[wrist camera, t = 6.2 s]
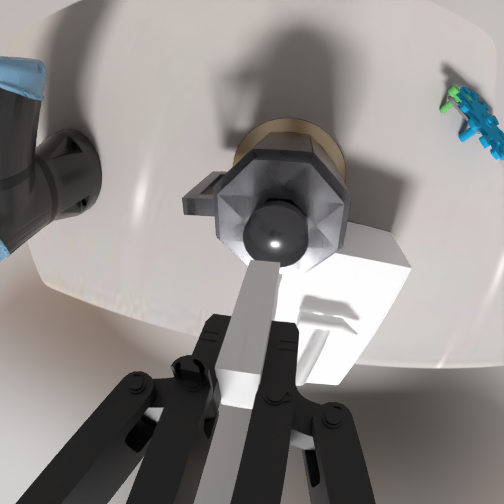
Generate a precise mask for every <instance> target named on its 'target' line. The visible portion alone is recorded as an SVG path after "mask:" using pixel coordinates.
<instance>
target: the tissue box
mask: <svg viewBox="0 0 504 504" xmlns="http://www.w3.org/2000/svg"><path fill="white" fill-rule="evenodd" d="M411 269H412V268H411V266H410V264H409V262H408V261H407V259H406V257H405V255H404V254H403V252H402V250H401V249H400V247H399V245H398V244H397V242H396V240H395V239H394V237H393V235H392V234H391V232H387V231H384V230H380V229H376V228H373V227H369V226H365V225H360V224H356V223H351V222H347V228H346V234H345V240H344V245H343V247H342V249H340V250H339V251H337V252H336V253H334V254H333V255H331V256H330V257H329V258H327V259H326V260H324V261H323V262H321V263H320V264H318V265H317V266H315V267H314V268H312V269H311V270H309V271H308V272H306V273H305V274H302V275H300V276H299V275H288V274H279V288H278V302H277V309H276V316H275V321H282V322H292V323H295V324H296V326H297V328H298V330H299V345H298V358H297V370H296V385H297V386H302V385H304V384H305V383H306V382H308V383H318V384H331V385H338V384H339V383H340V382H341V380H342V379H343V378H344V376H345V375H346V374H347V372H348V371H349V370H350V368H351V367H352V365H353V364H354V363H355V361H356V360H357V359H358V357H359V356H360V354H361V353H362V351H363V350H364V348H365V347H366V345H367V344H368V342H369V341H370V339H371V338H372V336H373V335H374V333H375V332H376V330H377V329H378V327H379V325H380V324H381V322H382V321H383V319H384V317H385V316H386V314H387V312H388V311H389V309H390V307H391V305H392V304H393V302H394V300H395V298H396V297H397V295H398V293H399V291H400V289H401V288H402V286H403V284H404V282H405V280H406V278H407V276H408V274H409V273H410V271H411Z"/></svg>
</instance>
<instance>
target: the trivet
mask: <svg viewBox="0 0 504 504" xmlns="http://www.w3.org/2000/svg"><path fill="white" fill-rule="evenodd" d="M285 131H291V132H298V133H302V134H309V135H311V136H312V137H313V138H314V139H315V141H316V142H318V143H319V144H320V145H321V146H322V147H323V148H324V150H325V151H326V153H327V154H328V155H329V157H330V158H331V159H332V160H333V161H334V162H335V164H336V166H337V168H338V170H339V172H340V174H341V176H342V179H343V181H344V183H345V180H346V169H345V163H344V159H343V156H342V154H341V151H340V149H339V148H338V146H337V144H336V143H335V142H334V140H333V139H332V138H331V137H330V136H329V135H328V134H327V133H326V132H325V131H324V130H322V129H321V128H320V127H318V126H316V125H314V124H312V123H310V122H307V121H304V120H300V119H294V118H281V119H275V120H272V121H268V122H266V123H264V124H261V125H260V126H258V127H256V128H255V129H253V130H252V131H251V132H250V133H249V134H248V135H247V136H246V137H245V138H244V139H243V141H242V142H241V144H240V145H239V147H238V149H237V151H236V154H235V157H234V162H233V167H234V166H235V165H236V164H237V163H238V162H239V161H240V160H241V159H242V158H243V157H244V156H245V155H246V154H247V153H248V152H249V151H250V150H251V149H252V148H253V147H254V146H255V145H256V144H257V143H258V142H260V141H261V140H262V139H263V138H264V137H265V136H266V135H268V134H269V133H270V132H285Z"/></svg>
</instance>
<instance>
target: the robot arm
mask: <svg viewBox="0 0 504 504" xmlns="http://www.w3.org/2000/svg"><path fill="white" fill-rule="evenodd" d="M46 72H47V71H46V66H45V64H44V63H43V62H41V61H39V60H35V59H29V58H20V57H3V56H0V261H1V260H3V259H4V258H5V257H8V256H10V254H11V253H13V252H14V251H15V250H16V249H17V248H19V247H20V246H21V245H22V244H23V243H25V242H26V241H27V240H28V239H30V238H31V237H32V236H33V235H35V234H36V233H37V232H39V231H40V230H41V229H42V228H44V227H45V226H46V225H48V224H49V223H51V222H52V221H55V220H59V219H64V218H69V217H74V216H78V215H80V214H82V213H83V212H85V211H86V210H88V209H89V208H91V207H92V206H93V205H94V203H95V202H96V200H97V198H98V196H99V193H100V188H101V168H100V163H99V159H98V156H97V154H96V151H95V149H94V147H93V146H92V144H91V143H90V141H89V140H88V139H87V138H86V137H85V136H84V135H83V134H82V133H80V132H78V131H76V130H71V129H67V130H63V131H59V132H56V133H54V134H52V135H50V136H49V137H48V138H47V139H45V140H44V141H43V142H42V143H41V144H40V145H38V146H37V147H36V138H37V129H38V121H39V114H40V108H41V102H42V101H43V99H44V96H43V91H44V84H45V79H46ZM279 274H280V262H269V261H258V260H250V262H249V265H248V268H247V271H246V274H245V277H244V280H243V283H242V286H241V290H240V293H239V296H238V299H237V302H236V305H235V308H234V311H233V314H232V316H226V315H219V314H213V315H212V316H211V317H210V318H209V319H208V320H207V321H206V322H205V325H204V327H203V329H202V332H201V334H200V337H199V340H198V342H197V344H196V347H195V349H194V351H193V354H192V355H186V356H183V357H180V358H178V359H177V360H175V361H174V362H173V364H172V365H171V369H172V371H173V374H174V376H175V377H173V378H165V379H164V378H163V379H152V378H151V377H150V376H149V375H148V374H147V373H144V372H141V371H139V372H132V373H129V374H128V375H127V376H125V377H124V378H123V379H122V380H121V381H120V383H119V384H118V385H117V386H116V387H115V388H114V389H113V391H112V392H111V393H110V394H109V395H108V396H107V397H106V398H105V400H104V401H103V402H102V403H101V404H100V405H99V406H98V408H97V409H96V410H95V411H94V412H93V413H92V414H91V416H90V417H89V418H88V419H87V420H86V421H85V422H84V424H83V425H82V426H81V427H80V428H79V429H78V431H77V432H76V433H75V434H74V435H73V436H72V437H71V439H70V440H69V441H68V442H67V443H66V444H65V446H64V447H63V448H62V449H61V450H60V452H59V453H58V454H57V455H56V456H55V457H54V459H53V460H52V461H51V462H50V463H49V464H48V466H47V467H46V468H45V469H44V470H43V471H42V473H41V474H40V475H39V476H38V477H37V479H36V480H35V481H34V482H33V483H32V484H31V486H30V487H29V488H28V489H27V490H26V492H25V493H24V494H23V495H22V496H21V498H20V499H19V500H18V501H17V503H16V504H107V503H108V502H109V501H110V500H111V498H112V497H113V496H114V494H115V493H116V492H117V491H118V489H119V488H120V487H121V485H122V484H123V483H124V482H125V480H126V479H127V478H128V476H129V475H130V474H131V472H132V471H133V470H134V469H135V467H136V466H137V464H138V463H139V462H140V461H141V459H142V458H143V457H144V458H143V461H142V463H141V466H140V468H139V471H138V473H137V476H136V479H135V481H134V484H133V486H132V489H131V492H130V494H129V497H128V500H127V502H126V504H193V503H194V500H195V497H196V493H197V490H198V486H199V483H200V479H201V476H202V473H203V469H204V466H205V462H206V459H207V455H208V452H209V449H210V445H211V442H212V438H213V435H214V431H215V427H216V424H217V421H218V417H219V411H218V408H219V404H220V401H221V403H222V404H223V405H229V406H235V407H241V408H247V409H252V414H251V419H250V423H249V427H248V432H247V437H246V441H245V446H244V450H243V454H242V458H241V462H240V467H239V471H238V475H237V480H236V483H235V488H234V492H233V496H232V500H231V503H230V504H280V502H281V495H282V490H283V484H284V478H285V472H286V464H287V458H288V451H289V444H291V445H294V446H297V447H299V448H302V453H303V459H304V465H305V470H306V476H307V482H308V488H309V495H310V501H311V504H376V503H375V499H374V495H373V491H372V487H371V483H370V479H369V475H368V471H367V467H366V463H365V460H364V456H363V453H362V449H361V445H360V442H359V438H358V435H357V431H356V427H355V424H354V421H353V417H352V414H351V412H350V411H349V409H348V408H347V407H346V406H344V405H343V404H340V403H337V402H328V403H325V404H323V405H320V404H317V403H315V402H312V401H309V400H307V399H305V398H304V397H303V396H302V395H300V393H299V392H298V390H297V388H296V370H297V358H298V345H299V330H298V328H297V326H296V324H295V323H292V322H282V321H275V316H276V309H277V302H278V288H279ZM144 455H145V456H144Z"/></svg>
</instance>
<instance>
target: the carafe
mask: <svg viewBox="0 0 504 504" xmlns="http://www.w3.org/2000/svg"><path fill="white" fill-rule="evenodd" d="M269 198H279V199H291V200H292V201H293V202H294V203H295V204H296V205H297V206H298V207H299V209H300V210H301V211H302V212H303V214H304V216H305V218H306V220H307V223H308V229H309V242H308V248H307V251H306V252H305V254H304V256H303V257H302V258H301V259H300V260H299V261H298V262H296V263H295V264H293V265H290V266H287V267H283V268H280V274H288V275H299V276H300V275H302V274H305V273H306V272H308V271H309V270H311V269H312V268H314V267H315V266H317V265H318V264H320V263H321V262H323V261H324V260H326V259H327V258H329V257H330V256H331V255H333V254H334V253H336V252H337V251H339V250H340V249H342V247H343V245H344V240H345V234H346V228H347V222H348V216H349V209H350V202H351V196H350V193H349V191H348V189H347V187H346V185H345V183H344V181H343V179H342V176H341V174H340V172H339V170H338V168H337V166H336V164H335V162H334V161H333V160H332V159H331V158H330V157H329V155H328V154H327V153H326V151H325V150H324V148H323V147H322V146H321V145H320V144H319V143H318V142H316V141H315V139H314V138H313V137H312V136H311V135H309V134H302V133H298V132H291V131H285V132H270V133H269V134H268V135H266V136H265V137H264V138H263V139H262V140H261V141H260V142H258V143H257V144H256V145H255V146H254V147H253V148H252V149H251V150H250V151H249V152H248V153H247V154H246V155H245V156H244V157H243V158H242V159H241V160H240V161H239V162H238V163H237V164H236V165H235V166H234V167H232V168H231V169H230V170H229V171H228V172H212V173H211V174H209V175H208V176H207V177H206V178H205V179H203V180H202V181H201V182H200V183H199V184H198V185H196V186H195V187H194V188H193V189H192V190H191V191H189V192H188V193H187V194H186V195H185V196H184V197H183V198H182V202H183V211H184V215H199V216H215V227H216V236H217V238H218V239H219V240H220V241H221V242H223V243H224V244H225V245H226V246H227V247H228V248H229V249H230V250H231V251H232V252H233V253H234V254H235V255H236V256H237V257H239V258H240V259H241V260H242V261H243V262H244V263H245V264H246V265H247V266H248V265H249V262H250V260H254V259H253V258H252V257H251V256H250V255H249V254H248V252H247V251H246V249H245V246H244V243H243V231H244V228H245V225H246V223H247V221H248V219H249V217H250V215H251V213H252V212H253V211H254V210H255V209H256V208H257V207H258V206H259V205H261V204H263V203H264V202H265V201H266V200H268V199H269Z"/></svg>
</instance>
